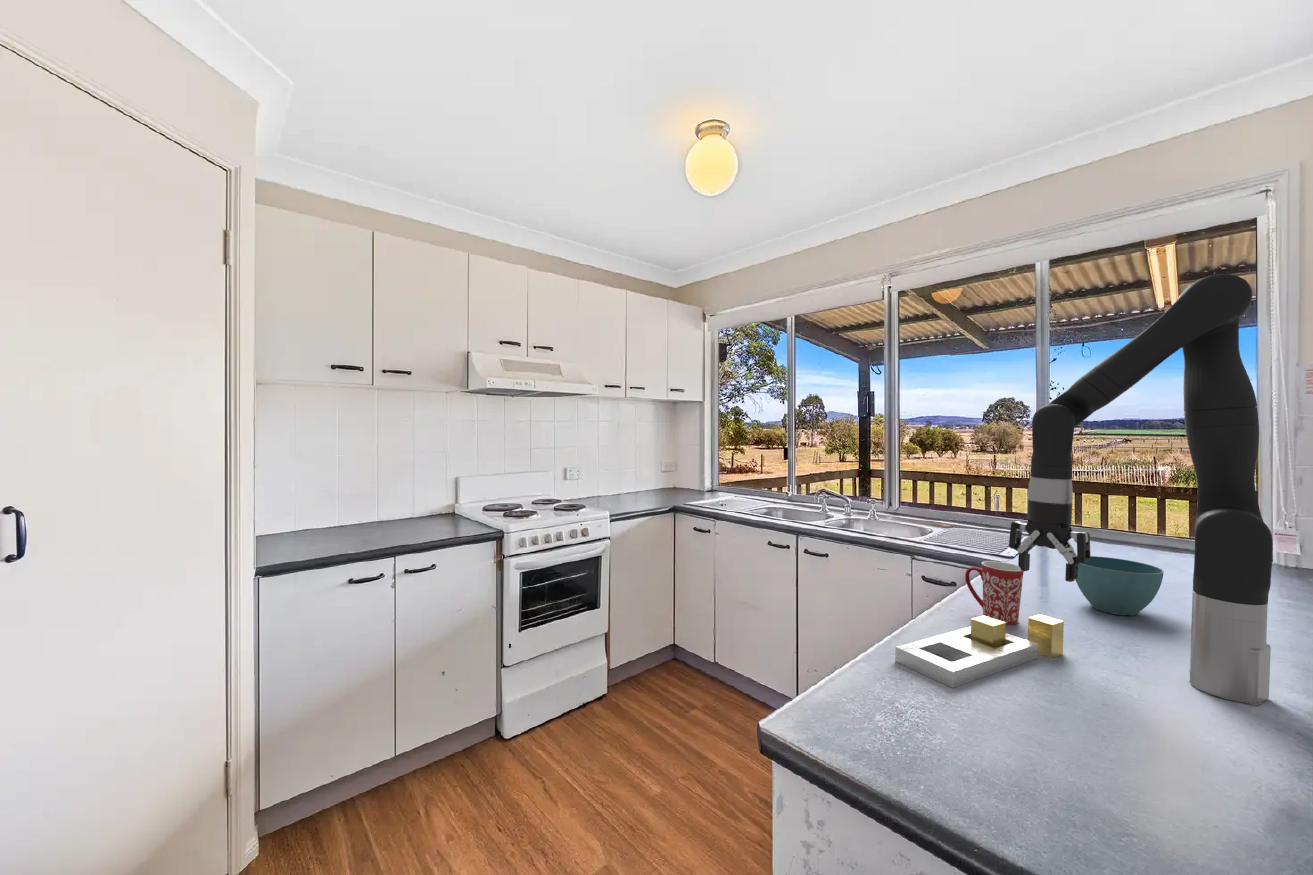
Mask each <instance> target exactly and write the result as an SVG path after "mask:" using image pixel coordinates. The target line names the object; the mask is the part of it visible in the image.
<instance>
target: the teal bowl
mask: <svg viewBox="0 0 1313 875" xmlns="http://www.w3.org/2000/svg"><path fill="white" fill-rule="evenodd" d="M1090 558H1091V560H1090V561H1089V562H1084V563H1079V565H1078V578H1077V579H1075V580H1074V581H1075V582H1076V584H1077V586H1078V588H1079V591H1080V593H1082V595H1083V596H1084V597H1085V599H1086V600H1087V601H1088V602H1089V604H1090V605H1091V606H1092V607H1093V608H1094V609H1096V610H1098V611H1101V612H1104V613H1107V612H1108V613H1107V614H1111V613H1112V615H1117V614H1118V615H1117V616H1125V615H1131V616H1134V615H1138V614H1139V613H1140V612H1142V611H1143V610H1144V609H1145V608H1147V607H1148V606H1149V605H1150V604H1151V603H1152V601H1153V600H1154V599H1155V598H1156V596H1157V594H1158V592H1159V590H1160V589H1161V585H1162V583H1163V579H1164V574H1165V573H1164V571H1165V570H1163V569H1162V568H1160V567H1157V566H1154V565H1151V564H1147V563H1144V562H1139V561H1134V560H1129V559H1122V558H1115V557H1108V556H1095V555H1090Z"/></svg>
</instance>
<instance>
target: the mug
mask: <svg viewBox="0 0 1313 875" xmlns="http://www.w3.org/2000/svg"><path fill="white" fill-rule="evenodd" d="M980 564H981V567H982V568H981V567H978V566H970V567H969V568H968V569H966V571H965V576H964V578H965V579H964V580H965V583H966V586H967V588H968V590H969V591H970V594H971V595H972V596H973V598H974V599H975V601H977V603H978V604H979V605H980V607H981V608H982V616H983V615H984V616H987V617H990V618H994V619H997V620H1000V621H1003V622H1006V625H1009V626H1010V625H1017V624H1019V616H1020V607H1021V600H1022V590H1023V582H1024V581H1023V580H1024V572H1025V571H1022V570H1021V569H1020V567H1019V566H1018V564H1014V563H1010V562H1005V561H995V560H986V561H982V562H981V563H980ZM972 571H976V572H978V573H979V576H980V578H981V581H982V598H981V597H980V596H979V595H978V593H977V592H976V590H975V588H974V587H973V584H972V583H971V580H970V573H971V572H972Z"/></svg>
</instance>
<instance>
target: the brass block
mask: <svg viewBox="0 0 1313 875" xmlns="http://www.w3.org/2000/svg"><path fill="white" fill-rule="evenodd" d="M1027 627H1028V628H1027V640H1028V641H1031V642H1034V643H1037V644H1038V652H1037V655H1041V656H1043V657H1047V658H1049V659H1053V658H1055V657H1059V656H1062V655H1063V654H1064V652H1063V651H1064V631H1065V630H1064V629H1065V628H1064V620H1061V619H1057V618H1054V617H1051V616H1047V615H1043V614H1041V613H1040V614H1035V615H1033V616H1029V617H1028V622H1027Z"/></svg>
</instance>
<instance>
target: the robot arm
mask: <svg viewBox="0 0 1313 875" xmlns="http://www.w3.org/2000/svg"><path fill="white" fill-rule="evenodd" d="M1252 298H1253V290H1252V287H1251V285H1250V284H1249V282H1248V281H1247V280H1246V279H1245V278H1243V277H1241V276H1239V275H1235V274H1232V273H1218V274H1210V275H1207V276H1205V277H1202V278H1199V279H1198V280H1195V281H1194V282H1192V283H1191V284H1189V285H1188V286H1187V287H1186V288H1184V290H1183V291H1182V292H1181V293H1180V295H1179V296H1178V297H1177V299H1176V300H1175V301H1174V302H1173V304H1172V305H1171V306H1170V307H1169V308H1168V309H1167V310H1166V311H1165V312H1164V313H1163V314H1162V315H1160V317H1159V318H1158V319H1156V320H1155V321H1154V322H1152V323H1151V325H1149V326H1148V327H1147V328H1146V329H1145V330H1143V331H1142V332H1141V333H1139V334H1138V335H1137V336H1136V337H1134V338H1133V339H1131V340H1130V341H1128V342H1127V343H1126V344H1125V345H1123V346H1122V347H1120V348H1119V349H1117V350H1116V351H1115V352H1112V354H1110V355H1109V356H1108V357H1106V358H1105V359H1103V360H1101V362H1100V363H1098V364H1096V365H1095V366H1094V367H1093V368H1090V370H1089V371H1087V372H1086V373H1085V374H1083V375H1082V376H1081V377H1080V378H1078V379H1077V380H1076V381H1075V382H1074V383H1072V385H1071V386H1070V387H1069V388H1068V389H1067V390H1066V391H1064V392H1062V394H1060V395H1059V396H1057V397H1056V398H1054V399H1053V400H1052V401H1050V402H1048V403H1047V404H1046V405H1043V406H1041V407H1040V408H1039V409H1037V410H1036V411H1035V413H1034V414H1033V416H1032V422H1031V430H1032V431H1031V436H1032V437H1031V438H1032V439H1031V440H1032V441H1031V442H1032V454H1031V460H1030V477H1029V478H1030V479H1029V482H1028V483H1029V484H1028V489H1027V490H1028V491H1027V516H1026V517H1027V523H1023V522H1022V521H1021V520H1017V521H1012V522H1010V528H1009V529H1010V531H1009V539H1008V547H1009V548H1010V549H1012V550H1015V551H1016V552H1017V553H1018V556H1017V558H1018V559H1017V560H1018V561H1017V562H1018V563H1017V565H1018V566H1019V567H1020V569H1021V570H1022V571H1024V572H1028V571H1029V570H1030V564H1031V563H1030V562H1031V560H1030V559H1031V553H1029V552H1030V551H1032V549H1033V548H1034V547H1036V546H1037V547H1041V548H1043V547H1045V548H1047V549H1050V550H1051V549H1052V550H1055V549H1056V550H1057V551H1058V553H1059V554H1060V555H1062V557H1063V558H1064V559H1065V561H1066V563H1065V578H1064V579H1065V582H1069V583H1072V582H1075V581H1076V580H1075V579H1077V578H1078V565H1079V563H1084V562H1089V561H1090V560H1091V558H1090V556H1091V534H1090V533H1089V532H1088V531H1083V532H1079V531H1073V529H1072V526H1071V525H1072V520H1073V519H1072V518H1073V516H1072V515H1073V498H1074V497H1073V494H1074V493H1073V492H1074V489H1073V479H1072V478H1073V454H1072V451H1073V443H1074V436H1075V428H1076V427H1077V426H1079V425H1080V424H1081V423H1083V422H1084V421H1085V420H1086V419H1087V418H1089V417H1090V416H1091V415H1092V414H1094V413H1095V412H1097V411H1099V410H1100V409H1103V408H1104V407H1105V406H1107V405H1108V404H1110V403H1111V402H1113V401H1115V400H1116V399H1117V398H1118V397H1120V396H1121V395H1122V394H1124V393H1125V392H1126V391H1128V390H1130V389H1131V388H1132V387H1134V386H1135V385H1136V384H1137V383H1139V382H1140V381H1141V380H1142V379H1143V378H1145V377H1146V376H1147V375H1148V374H1149V373H1151V372H1152V371H1153V370H1154V369H1155V368H1157V367H1158V366H1159V365H1161V363H1163V362H1164V361H1165V360H1167V359H1168V358H1169V357H1171V356H1172V355H1173V354H1175V353H1176V352H1178V351H1179V350H1180V349H1182V353H1183V361H1184V364H1183V368H1184V369H1183V412H1184V413H1183V416H1184V425H1185V426H1184V428H1185V434H1186V440H1187V445H1188V450H1189V454H1190V458H1191V461H1192V465H1193V468H1194V471H1195V476H1196V482H1197V484H1196V485H1197V501H1196V503H1197V504H1196V516H1195V523H1194V557H1193V558H1194V560H1193V561H1194V564H1193V565H1194V566H1193V575H1192V576H1193V577H1192V598H1191V599H1192V603H1191V631H1190V634H1191V635H1190V657H1189V658H1190V659H1189V661H1190V662H1189V683H1190V684H1191V685H1192V686H1193V687H1194V688H1196V689H1198V690H1199V691H1202V692H1204V693H1206V694H1209V695H1212V696H1216V697H1218V698H1222V699H1225V700H1230V701H1234V702H1238V703H1244V702H1246V704H1248V703H1249V705H1253V706H1255V707H1258V706H1259V704H1260V703H1261V704H1263V703H1264V702H1266V701H1267V700H1269V699H1270V679H1271V677H1270V676H1271V675H1270V674H1271V652H1272V651H1271V649H1272V646H1271V645H1270V644H1269V643H1267V640H1268V639H1267V638H1268V637H1267V633H1268V630H1267V629H1268V609H1269V608H1268V607H1269V605H1268V604H1269V594H1270V589H1271V584H1272V570H1273V568H1272V567H1273V552H1274V551H1273V549H1274V548H1273V547H1274V544H1273V535H1272V531H1271V529H1270V527H1269V526H1268V525H1267V524H1266V523H1265V522H1264V518H1263V517H1262V513H1261V510H1260V506H1259V501H1258V497H1257V496H1258V495H1257V490H1256V484H1255V482H1256V481H1255V476H1256V468H1257V467H1256V466H1257V460H1258V455H1259V447H1260V446H1259V445H1260V423H1259V412H1258V402H1257V397H1256V393H1255V390H1254V386H1253V384H1252V381H1251V379H1250V376H1249V375H1248V372H1247V370H1246V367H1245V366H1244V363H1243V361H1242V358H1241V352H1240V343H1239V341H1240V336H1239V335H1240V334H1239V333H1240V332H1239V331H1240V330H1239V329H1240V317H1241V316H1242V315H1243V314H1244V313H1245V312H1246V311H1247V310H1248V309H1249V307H1250V305H1251V303H1252ZM1025 531H1026V532H1027V534H1028V535H1029V536H1028V537H1026V538H1025V539H1024V541H1023V542H1022V536H1023V533H1024V532H1025ZM1072 538H1073V540H1074V543H1076V552H1075V549H1074V547H1073V546H1072V544H1071V542H1069V541H1070V539H1072ZM1268 698H1269V699H1268ZM1265 700H1266V701H1265ZM1262 702H1263V703H1262ZM1261 704H1260V705H1261Z"/></svg>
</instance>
